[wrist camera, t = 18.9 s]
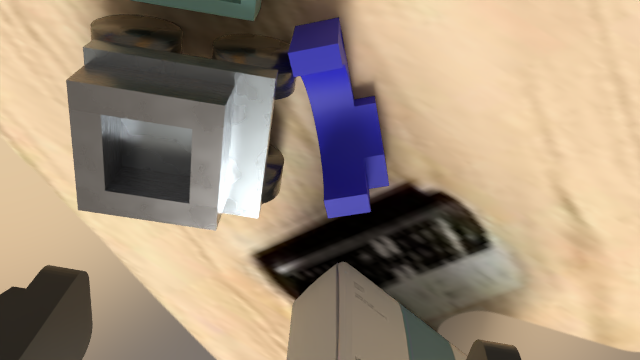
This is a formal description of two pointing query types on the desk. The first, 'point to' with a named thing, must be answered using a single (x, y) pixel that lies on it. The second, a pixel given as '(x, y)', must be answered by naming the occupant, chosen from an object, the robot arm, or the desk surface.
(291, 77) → the trolley
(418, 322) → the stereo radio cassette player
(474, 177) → the desk surface
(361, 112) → the cable clip
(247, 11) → the tray
